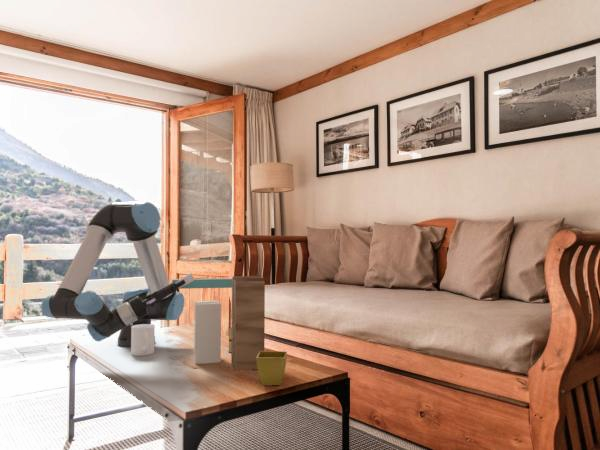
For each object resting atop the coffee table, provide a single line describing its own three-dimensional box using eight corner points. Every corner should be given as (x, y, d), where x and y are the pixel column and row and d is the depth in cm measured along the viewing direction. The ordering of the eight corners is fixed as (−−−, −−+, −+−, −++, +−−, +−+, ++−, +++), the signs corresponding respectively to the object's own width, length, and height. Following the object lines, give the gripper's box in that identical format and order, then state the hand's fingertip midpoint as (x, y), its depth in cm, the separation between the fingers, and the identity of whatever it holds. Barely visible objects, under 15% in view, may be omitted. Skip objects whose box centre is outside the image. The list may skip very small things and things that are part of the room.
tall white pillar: (194, 358, 174) (194, 301, 175) (218, 357, 177) (218, 300, 178) (195, 364, 167) (195, 304, 167) (220, 362, 169) (221, 303, 170)
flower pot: (259, 379, 148) (259, 350, 148) (286, 379, 148) (287, 351, 148) (255, 388, 139) (256, 357, 140) (285, 388, 139) (285, 357, 139)
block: (172, 288, 170) (172, 279, 171) (240, 286, 177) (240, 278, 177) (172, 288, 167) (172, 279, 167) (241, 287, 174) (241, 278, 174)
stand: (231, 363, 167) (232, 276, 168) (258, 361, 170) (259, 275, 171) (235, 371, 157) (235, 278, 159) (264, 369, 160) (264, 277, 161)
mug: (134, 359, 174) (135, 330, 174) (129, 352, 184) (129, 325, 184) (158, 356, 178) (158, 328, 178) (151, 350, 188) (151, 323, 189)
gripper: (140, 315, 173) (196, 283, 179) (137, 322, 158) (199, 286, 164) (129, 298, 173) (186, 266, 179) (125, 303, 157) (188, 268, 163)
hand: (192, 276), depth 171 cm, fingers closed on block, 3 cm apart
